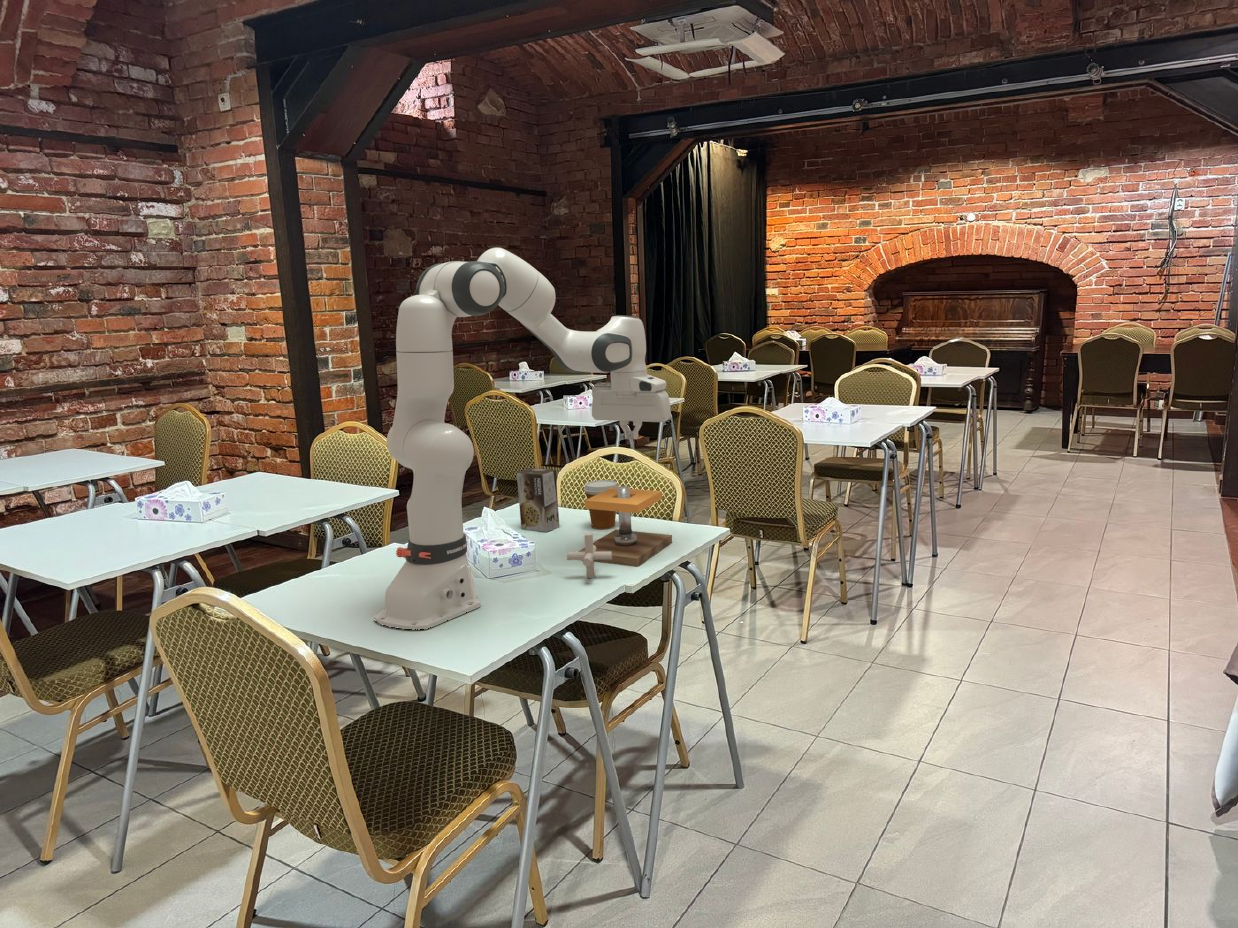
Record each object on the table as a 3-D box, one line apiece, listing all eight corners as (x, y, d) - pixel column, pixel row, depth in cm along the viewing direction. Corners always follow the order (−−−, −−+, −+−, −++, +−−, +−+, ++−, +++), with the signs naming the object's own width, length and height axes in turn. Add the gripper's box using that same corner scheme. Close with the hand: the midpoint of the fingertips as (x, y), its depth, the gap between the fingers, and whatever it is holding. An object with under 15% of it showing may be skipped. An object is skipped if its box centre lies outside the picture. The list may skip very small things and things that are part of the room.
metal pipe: (631, 547, 205) (628, 491, 203) (610, 545, 208) (607, 489, 205) (641, 540, 210) (638, 485, 208) (620, 538, 213) (618, 484, 210)
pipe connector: (614, 569, 196) (613, 527, 194) (610, 584, 186) (608, 540, 184) (572, 569, 197) (569, 528, 195) (565, 584, 187) (562, 541, 185)
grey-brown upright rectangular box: (560, 526, 234) (557, 469, 231) (546, 532, 229) (542, 474, 225) (534, 523, 239) (530, 467, 235) (519, 529, 233) (515, 471, 230)
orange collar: (637, 513, 198) (637, 504, 197) (585, 508, 204) (584, 500, 204) (662, 498, 210) (661, 491, 210) (612, 495, 216) (611, 487, 216)
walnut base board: (637, 566, 197) (637, 558, 197) (578, 559, 204) (577, 551, 204) (672, 542, 215) (672, 534, 214) (616, 536, 222) (615, 529, 221)
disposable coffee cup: (587, 522, 237) (585, 480, 235) (621, 520, 237) (619, 478, 234) (584, 531, 228) (582, 488, 226) (620, 530, 228) (618, 486, 225)
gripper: (585, 383, 208) (588, 439, 211) (661, 384, 199) (663, 442, 202) (597, 380, 214) (600, 435, 216) (672, 381, 204) (674, 438, 207)
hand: (631, 438), depth 209 cm, fingers closed
